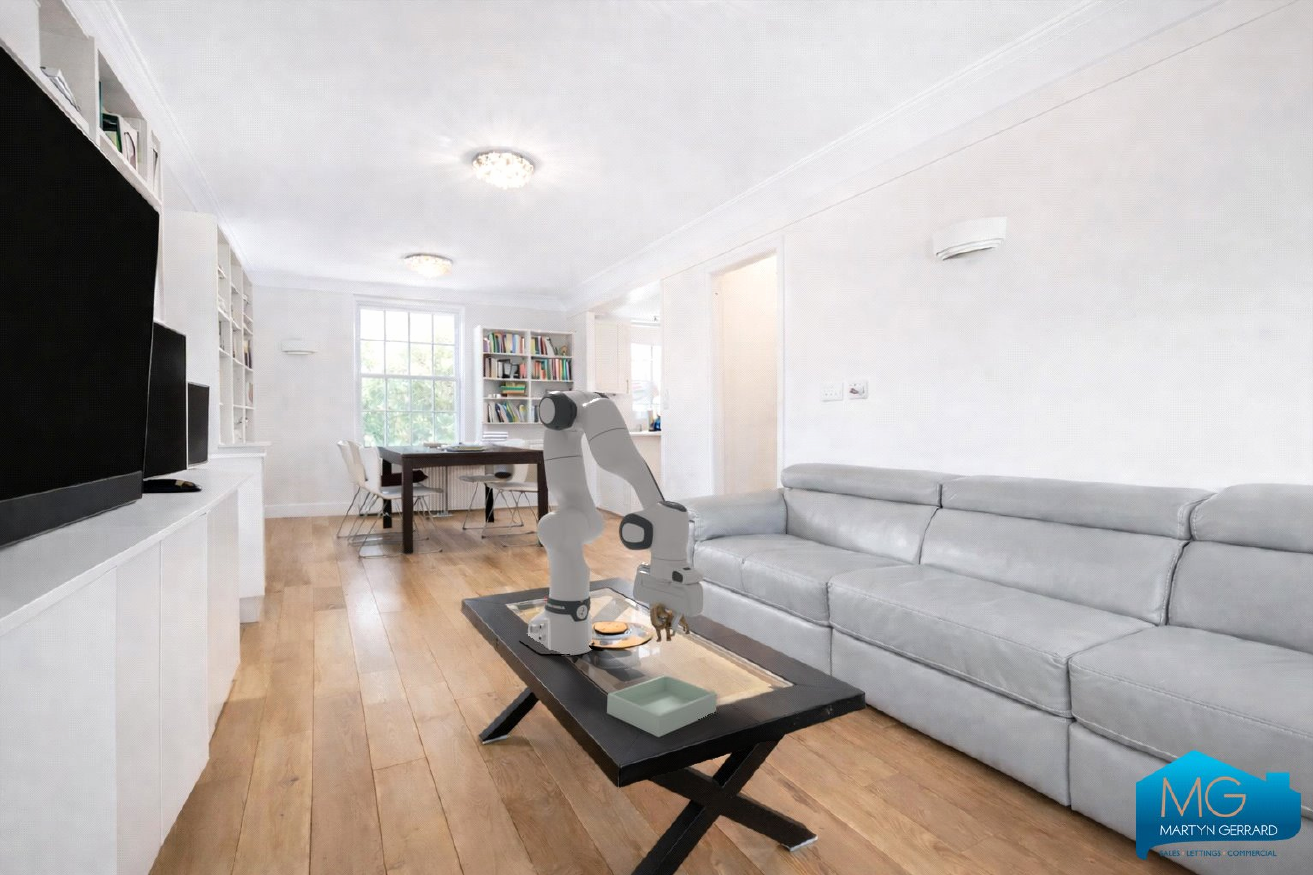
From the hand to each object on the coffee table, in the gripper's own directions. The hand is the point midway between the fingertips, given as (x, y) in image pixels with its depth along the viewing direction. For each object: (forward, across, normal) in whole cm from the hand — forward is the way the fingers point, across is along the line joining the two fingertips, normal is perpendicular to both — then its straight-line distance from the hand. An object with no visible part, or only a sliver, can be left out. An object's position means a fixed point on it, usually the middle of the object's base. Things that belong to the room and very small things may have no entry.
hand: (664, 626), depth 153 cm
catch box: (+13, +12, -13) cm, 22 cm away
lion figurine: (+3, +1, +2) cm, 4 cm away
